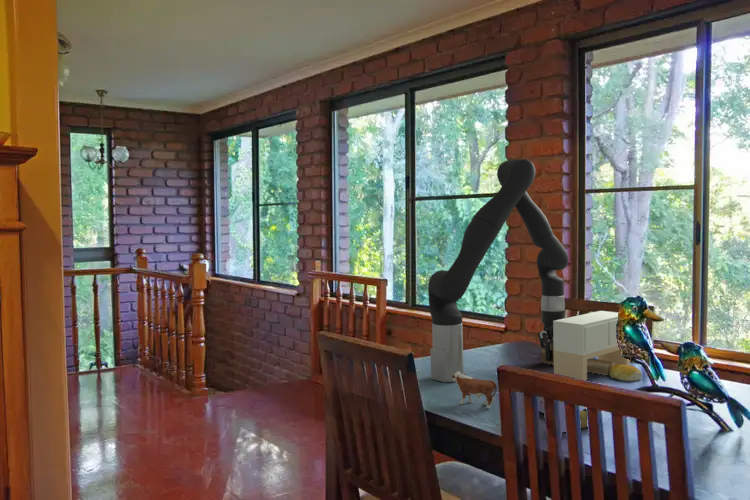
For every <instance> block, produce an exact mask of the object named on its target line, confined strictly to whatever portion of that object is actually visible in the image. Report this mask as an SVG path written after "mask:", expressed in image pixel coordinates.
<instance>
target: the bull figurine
mask: <svg viewBox="0 0 750 500" xmlns="http://www.w3.org/2000/svg"><path fill="white" fill-rule="evenodd" d="M452 378H453V381H455V383H456V384H457V386H458V389H459V391H460V393H461V400H460V402H459V403H458V404H459V405H460V406H462V405H464V404H465V399H466V397H467V398H468V400H467V403H468V404H470V403H473V399H472V396H477V398H478V399H480V398H481V397H482V396H483V395H484V396H485V397H486V399H485V401H484V402H483V403H482V405H483V406H486V408H485V409H486V410H489V409H490V408H491V407H492V403H493V402H494V400H495V398H496V393H497V391H498V387H497V383H496V382H495V381H494V380H491V379H480V378H474V377H471V376H467V374H466V373H463V374H461V373H460V372H459V371H458V372H456V373H455V374H454V375H452Z"/></svg>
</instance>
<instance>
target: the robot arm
mask: <svg viewBox="0 0 750 500" xmlns="http://www.w3.org/2000/svg"><path fill="white" fill-rule="evenodd" d="M496 171H497V172H496V176H497V180H498V182H499V185H501V187H500V189H499V190H498V192H497V193H496V194H495V195H494V196H493V197H491V199H489V200H488V201H487V202H486V203H485V204H484V205H483V206H482V207H481V208H479V209H478V210H477V212H476V213H475V214H474V216H473V217H472V218H471V220H470V222H469V223H468V225H467V227H466V228H465V231H464V233H463V237H462V241H461V245H460V246H461V247H460V251H459V253H458V255H457V257H456V258H455V261H454V262H453V264H452V265H451V266H450V268H449V269H448V270H444V269H442V270H437V271H435V272H434V273H433V274H432V275H431V276H430V277H429V281H428V286H427V291H428V293H427V295H428V306H429V308H428V309H429V313H430V314H429V315H430V316H431V323H432V324H431V325H432V327H431V329H432V334H431V335H432V348H430V352H429V353H430V379H431V380H434V381H439V382H442V383H451V382H452V383H454V382H455V381H453V378H452V375H454V374H455V373H456V372H458V371H459V372H460V373H461V374H464V343H463V342H464V339H463V336H464V335H463V314H462V312H461V311H460V310H459V308H458V305H457V302H458V301H459V300H460V299H462V298H463V296H464V295H465V293H466V291H467V290H468V287H469V285H470V283H471V281H472V279H473V277H474V275H475V273H476V271H477V269H478V268H479V265H480V263H482V261H483V259H484V257H486V254H487V252H488V250H489V249H490V247H491V246H492V244H493V243H494V242H495V240H496V238H497V236H498V235H499V233H500V232H501V230H502V228H503V226H504V224H505V222H506V221H507V220H508V218H509V217H510V215H511V213H512V211H513V210H514V208H515V209H516V211H517V212H518V214H519V216H520V217H521V219H522V221H523V223H524V225H525V227H526V229H527V231H528V234H529V236H530V238H531V240H532V243H533V244H534V246H536V247H538V248H540V251H539V252H538V254H537V256H536V265H537V270H538V273H539V274H538V275H539V278H540V281H541V301H540V305H541V306H540V307H541V308H540V309H541V310H540V311H541V314H540V315H541V316H540V317H541V319H540V320H541V323H543V330H542V331H538V332H537V336H538V341H539V345H540V349H541V348H543V349H545V351H546V361H550V362H551V361H553V350H552V349H553V343H554V339H553V321H555V320H559V319H564V318H566V301H565V284H564V283H565V282H564V279H563V278H561V277H560V276H558V275H557V272H556V271H562V270H564V269H566V268H567V266H568V264H569V254H568V252H567V250H566V248H565V247H564V246H563V244H562V243H561V242H560V240H559V239H558V238H557V237H556V236H555V234H554V231H553V230H552V228H551V224H550V223H549V220H548V219H547V217H546V215H545V214H544V213H543V211H542V210H541V208H540V207H539V206H538V205H537V204H536V203H535V202H534V201H533V200H532V198H531V196H530V195H529V193H528V192H527V191H528V189H529V188H530V187H531V186H532V184H533V182H534V180H535V178H536V167H535V165H534V163H533V162H532V161H531V160H529V159H525V158H517V159H510V160H509V159H508V160H505V161H503V162H501V163H500V165H499V166H498V168H497V170H496ZM548 339H550V340H551V341H550V340H548ZM544 343H545V345H544ZM548 343H550V346H549V344H548ZM455 383H456V382H455Z"/></svg>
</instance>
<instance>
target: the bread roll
mask: <svg viewBox="0 0 750 500" xmlns="http://www.w3.org/2000/svg"><path fill="white" fill-rule="evenodd" d="M609 373H610V375H609V377H610V378H611V379H614V378H615V379H614V380H619V381H621V380H622V382H636V381H639V380H641V378H642V371H641V370H640V369H639V368H637V367H636V366H634V365H630V366H627V365H624V364H618V365H614V366H613V367H611V369H610V372H609Z"/></svg>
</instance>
